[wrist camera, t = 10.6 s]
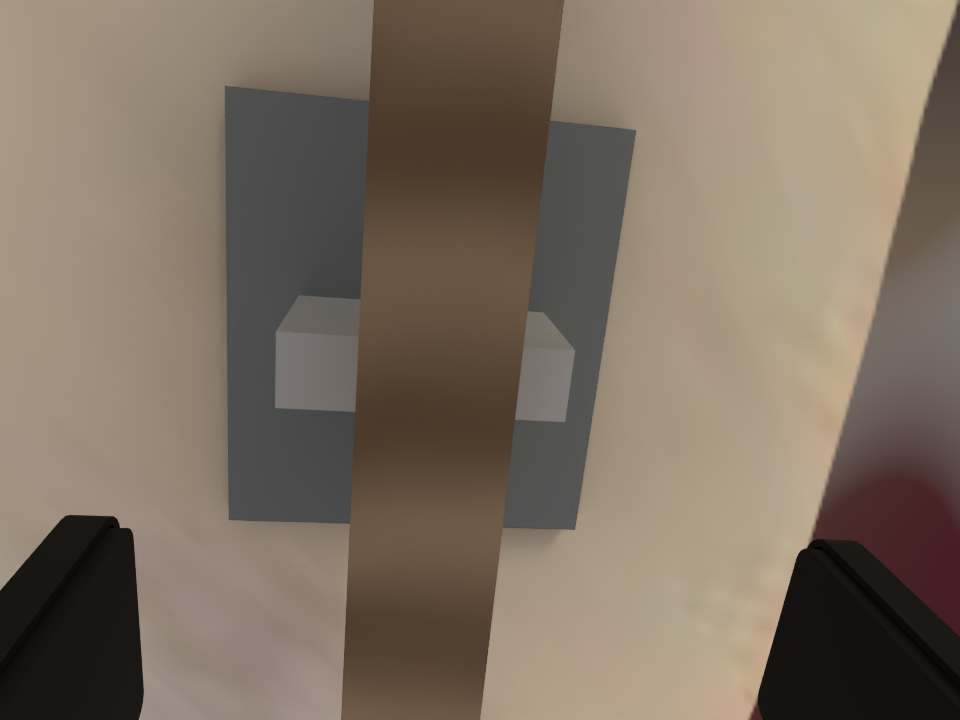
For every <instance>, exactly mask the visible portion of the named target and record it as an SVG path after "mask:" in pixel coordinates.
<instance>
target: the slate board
mask: <svg viewBox="0 0 960 720" xmlns="http://www.w3.org/2000/svg"><path fill="white" fill-rule="evenodd" d="M225 118H226V237H227V355H228V474H229V520H246V521H282V522H318V523H350V517H351V495H352V474H353V452H354V430H355V408H356V386H357V364H358V342H359V320H360V299H361V277H362V255H363V233H364V211H365V189H366V167H367V145H368V124H369V102H368V101H359V100H350V99H340V98H331V97H322V96H313V95H303V94H294V93H285V92H275V91H266V90H257V89H247V88H238V87H229V86H225ZM635 134H636V130H629V129H620V128H611V127H601V126H592V125H583V124H573V123H564V122H555V121H550V124H549V133H548V141H547V150H546V159H545V167H544V176H543V184H542V193H541V201H540V210H539V218H538V227H537V236H536V244H535V253H534V261H533V270H532V278H531V287H530V296H529V304H528V313H527V321H526V330H525V338H524V347H523V355H522V364H521V373H520V381H519V390H518V398H517V407H516V415H515V424H514V433H513V441H512V450H511V458H510V467H509V475H508V484H507V492H506V501H505V510H504V518H503V527H502V528H534V529H570V530H575V526H576V520H577V513H578V507H579V500H580V494H581V487H582V480H583V474H584V467H585V461H586V454H587V448H588V441H589V435H590V428H591V422H592V415H593V409H594V402H595V396H596V389H597V382H598V376H599V369H600V363H601V356H602V350H603V343H604V337H605V330H606V324H607V317H608V311H609V304H610V297H611V291H612V284H613V278H614V271H615V265H616V258H617V252H618V245H619V239H620V232H621V226H622V219H623V213H624V206H625V199H626V193H627V186H628V180H629V173H630V167H631V160H632V154H633V147H634V141H635Z"/></svg>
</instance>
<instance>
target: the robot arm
mask: <svg viewBox="0 0 960 720" xmlns="http://www.w3.org/2000/svg"><path fill="white" fill-rule="evenodd" d="M143 696H144V687H143V672H142V657H141V642H140V627H139V612H138V597H137V583H136V568H135V553H134V539H133V533H132V531H131V529H129V528H120V526H119V522H118V520H117V519H116V518H115V517H114V516H84V515H68V516H65V517H64V518H63V519H61V520H60V522H59V523H58V524H57V525H56V526H55V527H54V529H53V530H52V531H51V532H50V533H49V534H48V536H47V537H46V538H45V539H44V540H43V541H42V543H41V544H40V545H39V546H38V547H37V548H36V550H35V551H34V552H33V553H32V554H31V555H30V557H29V558H28V559H27V560H26V561H25V562H24V564H23V565H22V566H21V567H20V568H19V569H18V571H17V572H16V573H15V574H14V575H13V576H12V578H11V579H10V580H9V581H8V582H7V583H6V585H5V586H4V587H3V588H2V589H1V590H0V720H138V719H139V717H140V713H141V709H142V704H143ZM758 704H759V710H760V713H761V717H762V719H763V720H960V636H959V635H958V634H956V633H955V632H954V631H953V630H952V629H951V628H950V627H949V626H948V625H947V624H946V623H945V622H944V621H943V620H941V618H939V617H938V616H937V615H936V614H935V613H934V612H933V611H932V610H931V609H930V608H929V607H928V606H927V605H926V604H925V603H924V602H922V601H921V600H920V599H919V598H918V597H917V596H916V595H915V594H914V593H913V592H912V591H911V590H910V589H909V588H908V587H906V586H905V585H904V584H903V583H902V582H901V581H900V580H899V579H898V578H897V577H896V576H895V575H894V574H893V573H892V572H890V571H889V570H888V569H887V568H886V567H885V566H884V565H883V564H882V563H881V562H880V561H879V560H878V559H876V558H875V557H874V555H872V554H871V553H870V552H869V551H868V550H867V549H866V548H865V547H864V546H863V545H861V544H860V543H858V542H857V541H853V540H830V539H816V540H814V541H812V542H811V543H810V544H809V545H808V547H807V549H803V550H801V551H800V553H799V554H798V556H797V559H796V562H795V566H794V569H793V573H792V576H791V580H790V583H789V587H788V590H787V594H786V597H785V601H784V604H783V608H782V612H781V615H780V619H779V622H778V626H777V629H776V633H775V636H774V640H773V643H772V647H771V650H770V654H769V657H768V661H767V664H766V668H765V671H764V675H763V678H762V682H761V685H760V689H759V694H758Z"/></svg>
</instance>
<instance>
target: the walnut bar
mask: <svg viewBox="0 0 960 720" xmlns="http://www.w3.org/2000/svg"><path fill="white" fill-rule="evenodd" d="M563 4H564V0H374V14H373V36H372V58H371V80H370V102H369V124H368V145H367V167H366V189H365V211H364V233H363V255H362V277H361V299H360V320H359V342H358V364H357V386H356V408H355V430H354V452H353V474H352V495H351V517H350V539H349V561H348V583H347V605H346V627H345V649H344V670H343V692H342V714H341V720H480V715H481V706H482V698H483V689H484V681H485V672H486V664H487V655H488V647H489V638H490V629H491V621H492V612H493V604H494V595H495V587H496V578H497V570H498V561H499V552H500V544H501V535H502V527H503V518H504V510H505V501H506V492H507V484H508V475H509V467H510V458H511V450H512V441H513V433H514V424H515V415H516V407H517V398H518V390H519V381H520V373H521V364H522V355H523V347H524V338H525V330H526V321H527V313H528V304H529V296H530V287H531V278H532V270H533V261H534V253H535V244H536V236H537V227H538V218H539V210H540V201H541V193H542V184H543V176H544V167H545V159H546V150H547V141H548V133H549V124H550V116H551V107H552V99H553V90H554V82H555V73H556V64H557V56H558V47H559V39H560V30H561V22H562V13H563Z"/></svg>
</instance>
